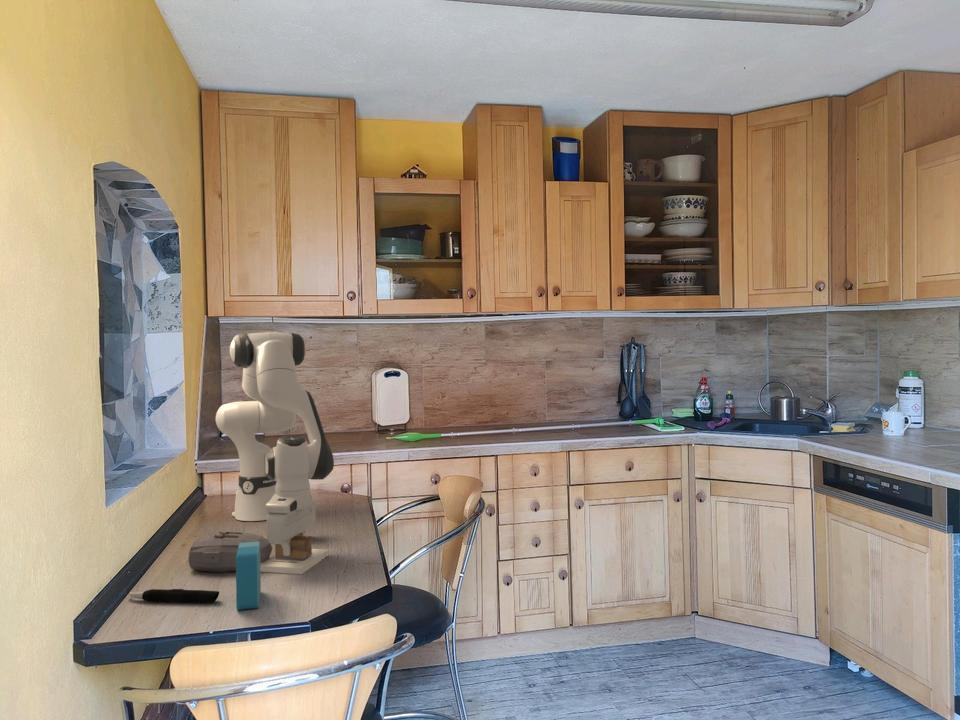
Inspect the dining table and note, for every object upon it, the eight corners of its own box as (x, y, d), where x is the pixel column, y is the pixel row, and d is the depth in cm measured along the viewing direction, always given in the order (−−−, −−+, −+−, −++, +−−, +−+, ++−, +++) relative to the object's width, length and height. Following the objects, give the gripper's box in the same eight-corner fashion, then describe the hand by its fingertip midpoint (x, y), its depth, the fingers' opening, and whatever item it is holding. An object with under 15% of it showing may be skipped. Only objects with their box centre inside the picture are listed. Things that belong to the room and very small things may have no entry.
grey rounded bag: (182, 574, 168) (262, 574, 168) (181, 541, 168) (262, 540, 168) (206, 556, 183) (280, 555, 184) (205, 525, 183) (279, 525, 183)
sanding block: (283, 554, 180) (283, 535, 180) (311, 555, 179) (311, 536, 178) (275, 559, 176) (275, 539, 176) (303, 560, 174) (303, 541, 174)
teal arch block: (240, 593, 155) (239, 541, 155) (260, 591, 157) (260, 539, 156) (236, 612, 144) (235, 556, 144) (258, 610, 145) (258, 554, 145)
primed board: (288, 552, 186) (287, 547, 186) (328, 555, 184) (328, 549, 184) (257, 571, 171) (257, 565, 171) (301, 574, 168) (301, 568, 168)
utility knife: (121, 604, 150) (121, 590, 150) (131, 597, 154) (131, 584, 154) (215, 606, 148) (215, 592, 148) (223, 599, 152) (223, 586, 152)
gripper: (300, 490, 188) (300, 539, 188) (261, 507, 168) (262, 562, 168) (321, 491, 186) (321, 541, 187) (284, 508, 166) (285, 564, 167)
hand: (293, 551), depth 177 cm, fingers closed on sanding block, 4 cm apart
